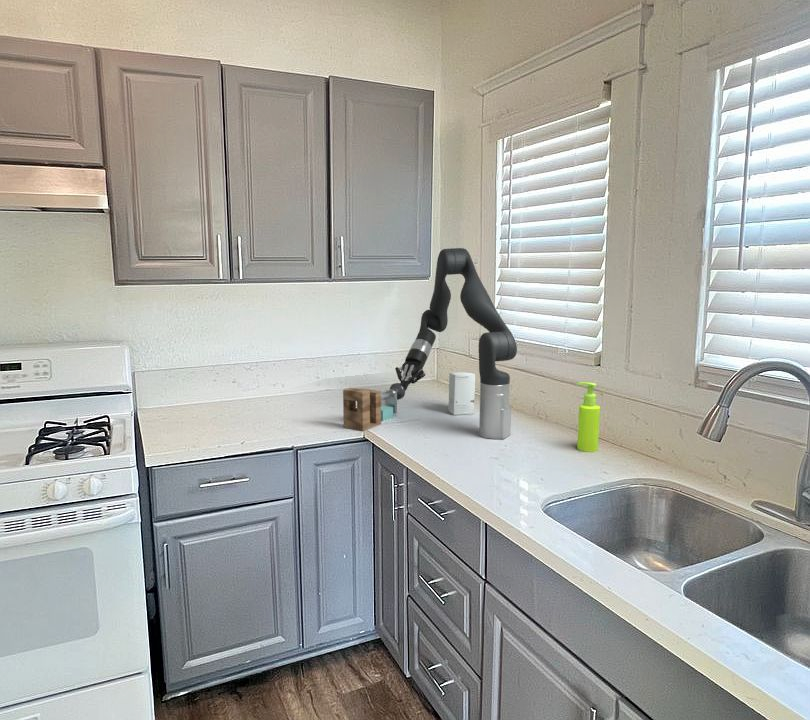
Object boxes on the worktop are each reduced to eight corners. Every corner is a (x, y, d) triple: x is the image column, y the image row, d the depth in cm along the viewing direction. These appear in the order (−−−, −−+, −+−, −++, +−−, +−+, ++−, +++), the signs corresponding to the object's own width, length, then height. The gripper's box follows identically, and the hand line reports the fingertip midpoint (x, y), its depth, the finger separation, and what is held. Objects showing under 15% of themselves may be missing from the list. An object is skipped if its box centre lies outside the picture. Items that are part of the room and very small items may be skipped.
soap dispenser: (578, 444, 186) (581, 379, 182) (600, 448, 181) (604, 382, 178) (570, 448, 181) (573, 383, 178) (593, 453, 177) (596, 386, 174)
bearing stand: (381, 424, 208) (380, 386, 206) (362, 431, 199) (362, 392, 197) (362, 420, 212) (362, 384, 210) (343, 427, 204) (343, 389, 202)
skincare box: (453, 415, 219) (454, 375, 217) (447, 411, 225) (448, 372, 222) (475, 413, 222) (475, 373, 219) (468, 410, 227) (469, 371, 225)
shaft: (405, 411, 222) (405, 383, 221) (372, 423, 205) (371, 394, 204) (391, 409, 226) (391, 382, 224) (357, 421, 208) (357, 392, 207)
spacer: (393, 418, 217) (393, 407, 216) (382, 421, 212) (382, 410, 211) (382, 416, 220) (382, 405, 219) (371, 419, 215) (371, 408, 214)
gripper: (400, 346, 233) (382, 383, 225) (430, 349, 226) (412, 386, 218) (407, 358, 239) (390, 394, 231) (437, 361, 232) (420, 398, 223)
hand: (401, 390), depth 224 cm, fingers closed
